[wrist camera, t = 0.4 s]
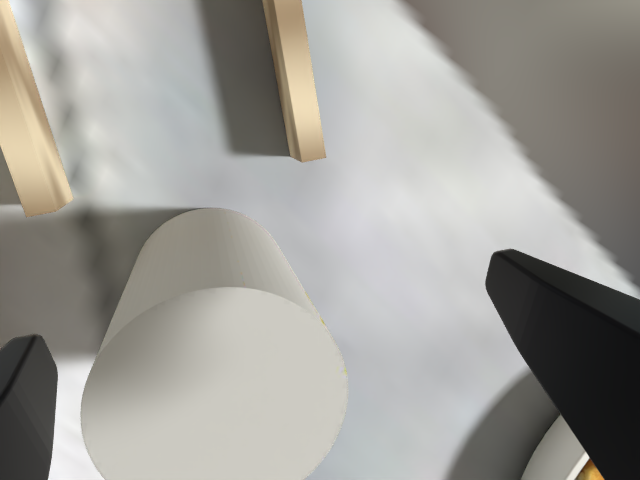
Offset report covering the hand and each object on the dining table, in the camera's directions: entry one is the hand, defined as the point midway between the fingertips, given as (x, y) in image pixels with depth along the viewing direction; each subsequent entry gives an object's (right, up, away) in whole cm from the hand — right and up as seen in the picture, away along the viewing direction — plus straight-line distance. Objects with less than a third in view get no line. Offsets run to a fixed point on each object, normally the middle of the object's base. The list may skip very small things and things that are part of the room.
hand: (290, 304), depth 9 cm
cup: (-5, -1, +17) cm, 18 cm away
